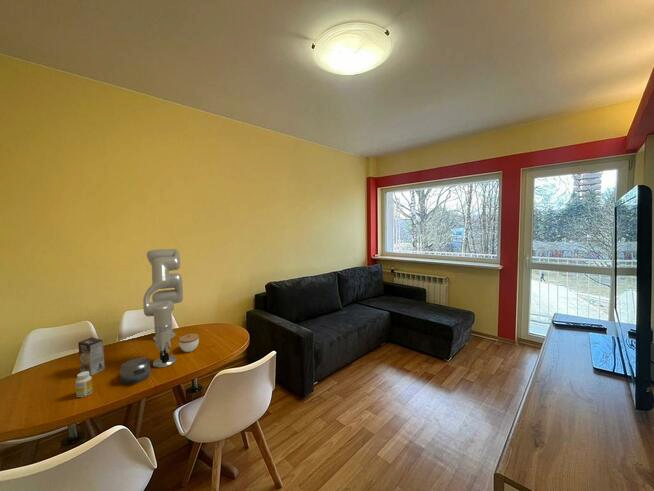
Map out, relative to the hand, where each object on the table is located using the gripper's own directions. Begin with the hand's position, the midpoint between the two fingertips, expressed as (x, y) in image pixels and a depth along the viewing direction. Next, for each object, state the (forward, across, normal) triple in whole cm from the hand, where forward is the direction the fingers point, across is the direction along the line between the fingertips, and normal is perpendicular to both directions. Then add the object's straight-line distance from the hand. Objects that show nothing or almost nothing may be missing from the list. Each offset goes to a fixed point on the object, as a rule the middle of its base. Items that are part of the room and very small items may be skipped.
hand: (164, 359), depth 147 cm
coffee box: (+2, -18, -28) cm, 33 cm away
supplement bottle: (+2, +4, -33) cm, 33 cm away
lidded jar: (+2, -6, +15) cm, 16 cm away
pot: (+1, +5, -14) cm, 15 cm away
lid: (+1, 0, 0) cm, 1 cm away
